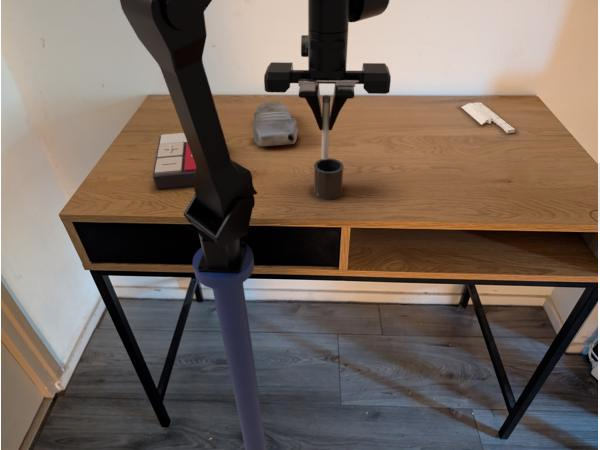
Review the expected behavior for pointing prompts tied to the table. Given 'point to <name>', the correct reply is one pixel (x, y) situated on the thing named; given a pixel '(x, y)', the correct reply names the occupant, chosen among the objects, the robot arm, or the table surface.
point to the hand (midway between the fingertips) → (325, 129)
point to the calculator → (173, 162)
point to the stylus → (325, 126)
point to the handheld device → (274, 125)
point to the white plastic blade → (486, 116)
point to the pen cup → (328, 178)
